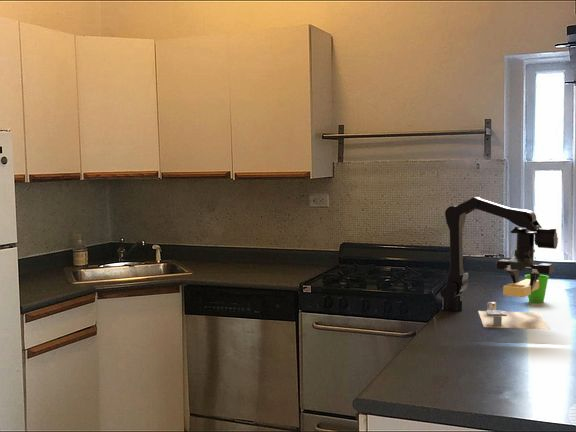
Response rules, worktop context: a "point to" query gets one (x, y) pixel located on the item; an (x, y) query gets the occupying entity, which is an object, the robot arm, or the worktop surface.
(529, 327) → the board
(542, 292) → the cup
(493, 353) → the worktop surface
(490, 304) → the pintle
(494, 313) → the keeper
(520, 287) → the link
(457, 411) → the worktop surface
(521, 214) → the robot arm
